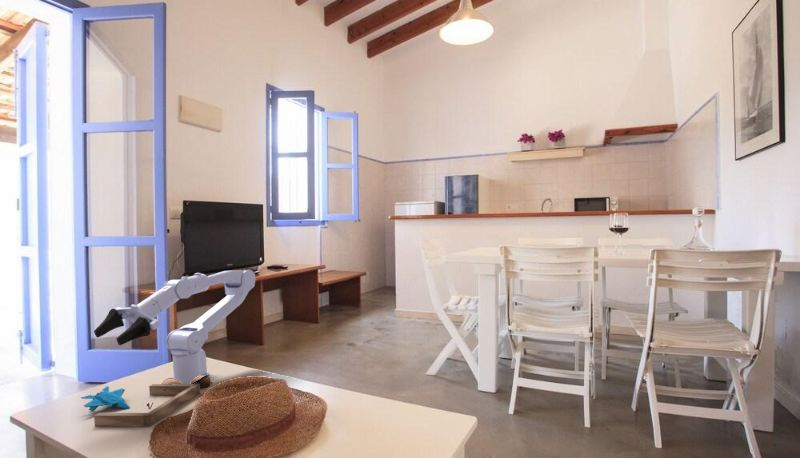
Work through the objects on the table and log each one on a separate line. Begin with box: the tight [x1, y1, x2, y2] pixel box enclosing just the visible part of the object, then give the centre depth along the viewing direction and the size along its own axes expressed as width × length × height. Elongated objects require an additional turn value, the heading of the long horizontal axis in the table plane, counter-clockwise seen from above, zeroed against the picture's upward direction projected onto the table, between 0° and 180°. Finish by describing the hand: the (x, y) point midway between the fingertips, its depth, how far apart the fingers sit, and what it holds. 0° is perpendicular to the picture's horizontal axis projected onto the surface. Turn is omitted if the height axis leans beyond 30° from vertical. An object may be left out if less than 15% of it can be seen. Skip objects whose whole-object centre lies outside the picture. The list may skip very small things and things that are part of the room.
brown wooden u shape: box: [93, 383, 201, 427], centre depth 103 cm, size 19×14×2 cm
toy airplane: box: [80, 385, 131, 412], centre depth 106 cm, size 12×10×4 cm
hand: (106, 338), depth 100 cm, fingers open, 7 cm apart
